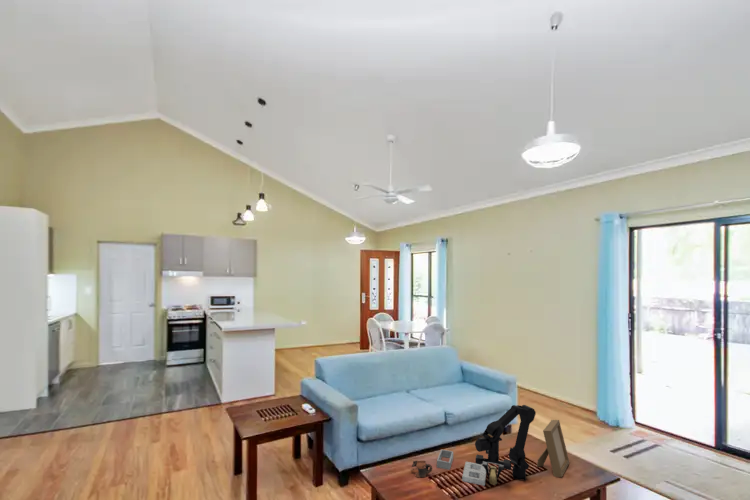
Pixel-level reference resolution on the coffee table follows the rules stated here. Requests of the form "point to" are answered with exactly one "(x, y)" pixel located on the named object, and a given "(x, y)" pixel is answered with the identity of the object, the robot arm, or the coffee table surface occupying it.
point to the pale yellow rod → (493, 475)
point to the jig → (474, 473)
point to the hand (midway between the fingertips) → (493, 477)
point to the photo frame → (554, 449)
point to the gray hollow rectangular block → (443, 463)
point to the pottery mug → (422, 468)
